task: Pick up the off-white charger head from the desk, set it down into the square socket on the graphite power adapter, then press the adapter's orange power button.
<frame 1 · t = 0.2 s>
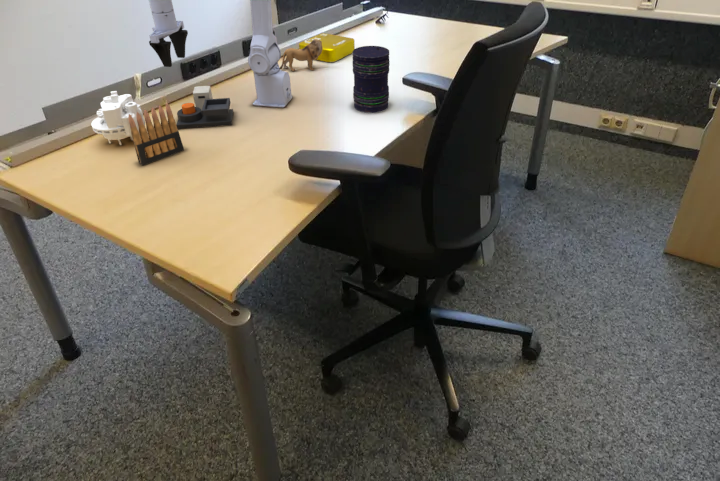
hand: (174, 61, 145), 10 cm above the table, tool pointing down, fingers open, 7 cm apart
lion figurine: (302, 69, 168), on the table
storage jar: (371, 106, 143), on the table
element tile: (327, 54, 180), on the table
adapter: (206, 120, 137), on the table
charger: (205, 108, 144), on the table
ammunition clip: (162, 157, 122), on the table
power button: (188, 108, 135), point 4 cm above the table, slide at 0.1 cm
adapter socket: (219, 119, 137), resting on adapter
mechanical part: (123, 141, 129), on the table
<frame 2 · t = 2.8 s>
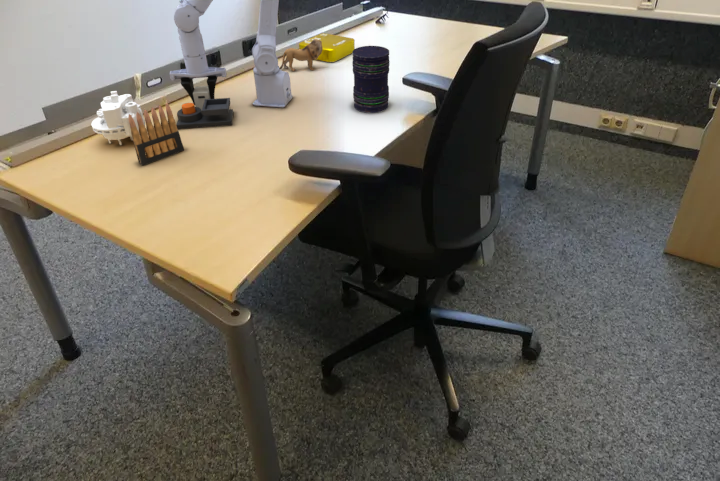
hand: (204, 103, 143), 1 cm above the table, tool pointing down, fingers closed on charger, 4 cm apart
charger: (205, 108, 144), on the table, touching gripper
everything else where it was.
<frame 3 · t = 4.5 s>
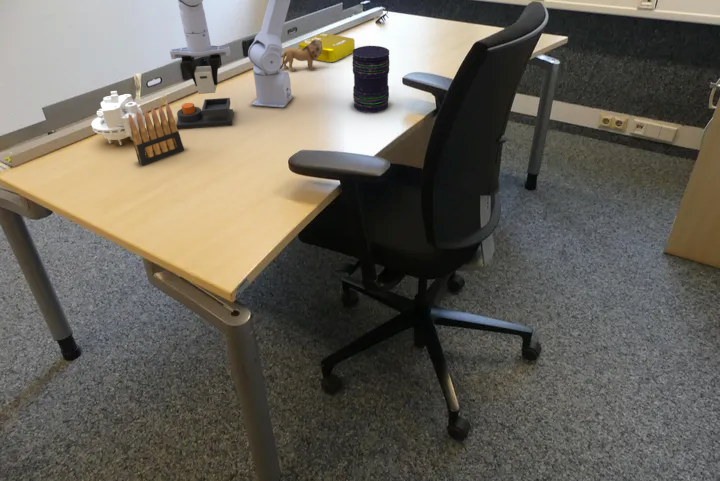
hand: (206, 84, 135), 8 cm above the table, tool pointing down, fingers closed on charger, 4 cm apart
charger: (207, 89, 136), point 7 cm above the table, touching gripper
everything else where it was.
when the fingers open (5 cm above the table, at t = 6.5 s): charger stays where it is, resting on adapter socket.
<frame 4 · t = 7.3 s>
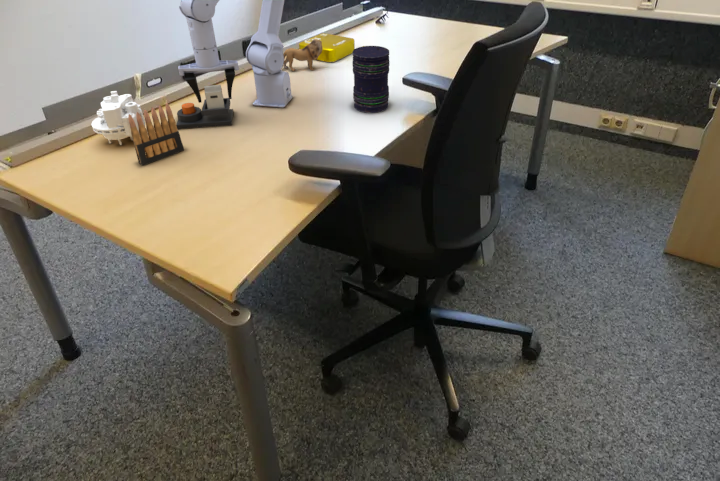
hand: (215, 99, 134), 6 cm above the table, tool pointing down, fingers open, 7 cm apart
charger: (216, 108, 135), point 3 cm above the table, touching adapter socket
everything else where it was.
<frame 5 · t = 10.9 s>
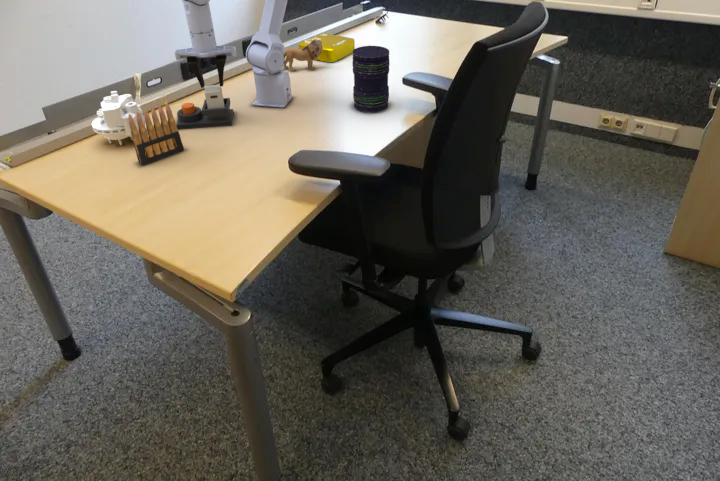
hand: (212, 85, 132), 9 cm above the table, tool pointing down, fingers open, 4 cm apart
nothing on the table moved.
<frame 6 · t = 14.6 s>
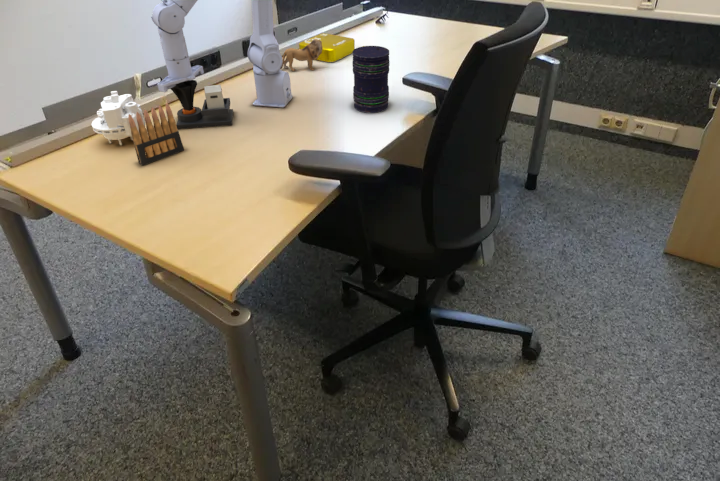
hand: (188, 109, 135), 4 cm above the table, tool pointing down, fingers closed, pressing on power button
power button: (189, 112, 135), point 3 cm above the table, slide at -1.0 cm, touching gripper
everything else where it was.
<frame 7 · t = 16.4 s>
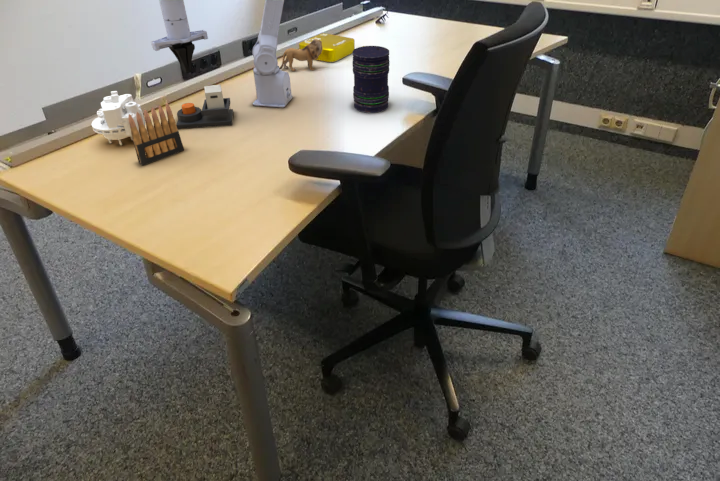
hand: (187, 71, 137), 10 cm above the table, tool pointing down, fingers closed
power button: (188, 108, 135), point 4 cm above the table, slide at 0.1 cm
everything else where it was.
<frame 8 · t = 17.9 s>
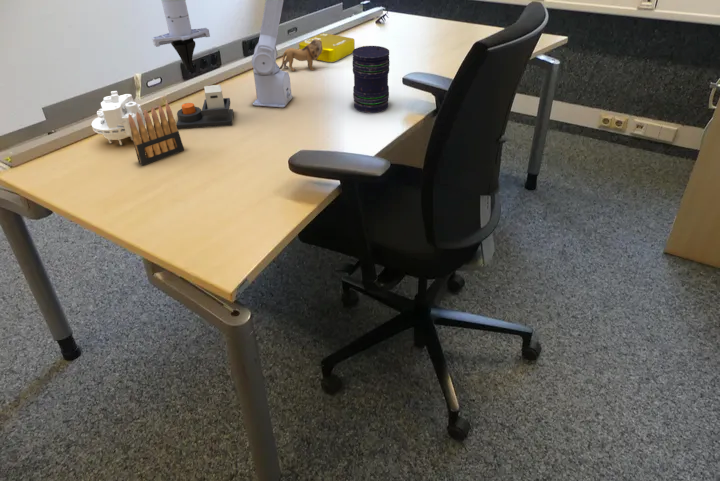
hand: (188, 68, 139), 10 cm above the table, tool pointing down, fingers closed
nothing on the table moved.
at the end: charger 0.0 cm off-centre on the adapter socket, point 3.1 cm above the adapter socket's base; power button pushed in 1.1 cm at the most during the clip, back to where it started at the end; power button slide at 0.1 cm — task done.
